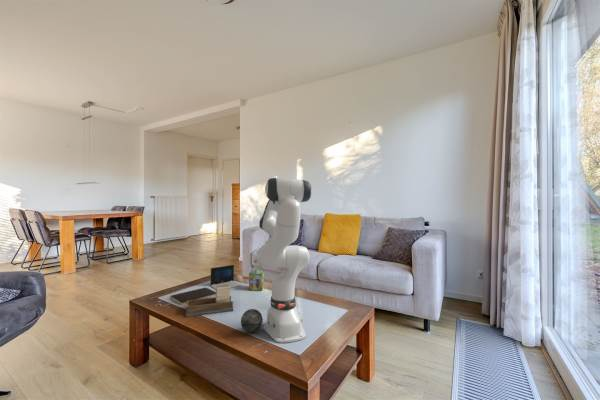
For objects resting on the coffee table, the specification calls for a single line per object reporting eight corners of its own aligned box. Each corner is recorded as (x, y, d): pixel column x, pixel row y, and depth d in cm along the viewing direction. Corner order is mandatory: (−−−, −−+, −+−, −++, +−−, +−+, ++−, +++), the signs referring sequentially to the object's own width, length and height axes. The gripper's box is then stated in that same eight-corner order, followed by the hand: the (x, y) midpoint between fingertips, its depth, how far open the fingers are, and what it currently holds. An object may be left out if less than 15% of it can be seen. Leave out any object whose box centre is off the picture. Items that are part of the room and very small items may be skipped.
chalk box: (262, 291, 182) (262, 269, 182) (248, 290, 182) (248, 268, 183) (264, 286, 191) (264, 265, 192) (251, 286, 192) (251, 265, 192)
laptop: (218, 291, 181) (218, 271, 181) (210, 286, 190) (210, 268, 190) (241, 286, 193) (242, 267, 193) (233, 281, 202) (233, 264, 202)
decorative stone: (238, 328, 128) (239, 307, 128) (259, 324, 132) (259, 304, 132) (243, 338, 119) (243, 315, 119) (265, 334, 123) (265, 312, 123)
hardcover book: (217, 296, 172) (217, 292, 172) (181, 306, 155) (181, 302, 155) (205, 290, 183) (205, 287, 183) (170, 299, 166) (170, 295, 166)
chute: (233, 311, 148) (233, 303, 148) (185, 317, 139) (185, 309, 139) (229, 300, 163) (230, 294, 163) (186, 305, 154) (186, 298, 154)
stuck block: (229, 306, 152) (229, 288, 152) (216, 307, 149) (216, 289, 149) (228, 301, 158) (228, 284, 158) (215, 303, 156) (216, 285, 156)
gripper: (264, 240, 173) (248, 256, 169) (272, 245, 154) (255, 263, 150) (270, 247, 174) (255, 263, 171) (280, 252, 155) (262, 271, 152)
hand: (255, 263), depth 160 cm, fingers open, 5 cm apart
